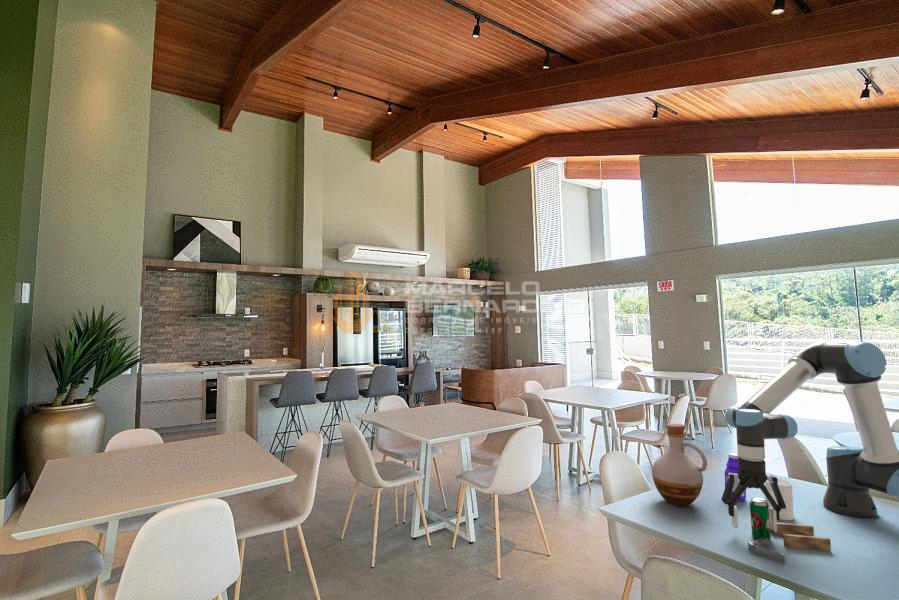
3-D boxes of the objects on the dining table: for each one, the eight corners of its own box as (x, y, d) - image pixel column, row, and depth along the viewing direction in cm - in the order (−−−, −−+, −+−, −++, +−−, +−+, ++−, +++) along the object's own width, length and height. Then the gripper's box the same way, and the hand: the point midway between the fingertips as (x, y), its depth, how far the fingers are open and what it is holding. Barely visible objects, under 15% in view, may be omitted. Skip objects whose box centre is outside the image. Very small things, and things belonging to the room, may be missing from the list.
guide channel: (811, 536, 147) (811, 525, 147) (831, 551, 137) (830, 539, 137) (770, 532, 150) (769, 521, 150) (785, 547, 140) (785, 535, 140)
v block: (767, 545, 141) (766, 536, 141) (786, 564, 129) (786, 555, 129) (741, 542, 143) (741, 534, 143) (758, 561, 131) (758, 552, 131)
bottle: (746, 498, 181) (744, 453, 182) (746, 503, 176) (744, 457, 177) (725, 495, 185) (723, 451, 186) (724, 499, 180) (723, 454, 181)
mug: (785, 524, 156) (784, 488, 157) (757, 516, 163) (756, 482, 164) (798, 516, 163) (796, 482, 164) (770, 509, 170) (769, 476, 171)
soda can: (772, 543, 142) (769, 503, 143) (752, 540, 144) (749, 501, 145) (770, 537, 146) (767, 498, 147) (751, 534, 149) (748, 496, 150)
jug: (714, 504, 175) (712, 424, 177) (702, 517, 162) (699, 432, 164) (661, 492, 188) (659, 418, 190) (645, 503, 175) (643, 424, 177)
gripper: (785, 457, 149) (788, 527, 147) (708, 452, 154) (711, 520, 152) (797, 463, 142) (801, 537, 140) (716, 458, 147) (718, 529, 145)
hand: (754, 528), depth 146 cm, fingers open, 10 cm apart
